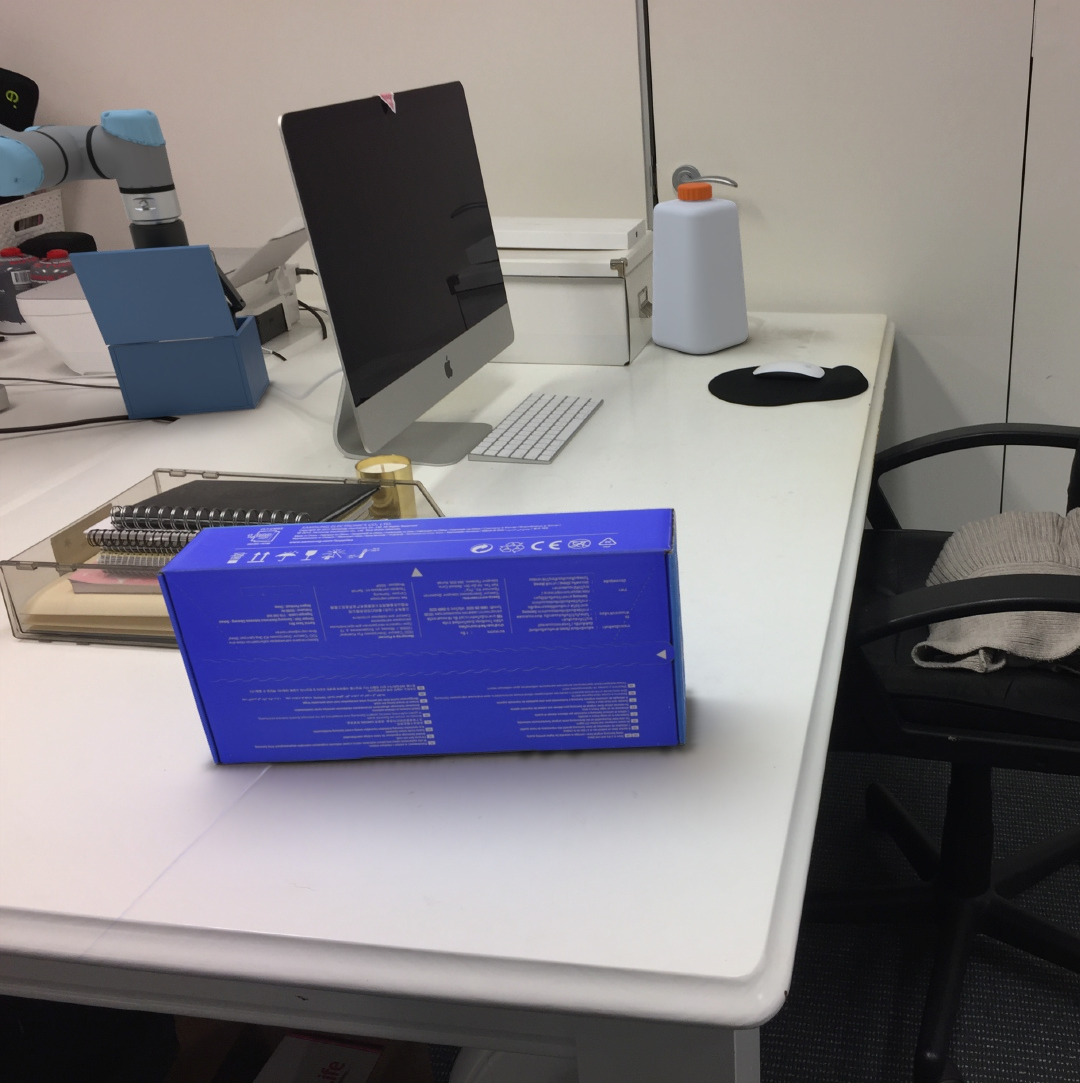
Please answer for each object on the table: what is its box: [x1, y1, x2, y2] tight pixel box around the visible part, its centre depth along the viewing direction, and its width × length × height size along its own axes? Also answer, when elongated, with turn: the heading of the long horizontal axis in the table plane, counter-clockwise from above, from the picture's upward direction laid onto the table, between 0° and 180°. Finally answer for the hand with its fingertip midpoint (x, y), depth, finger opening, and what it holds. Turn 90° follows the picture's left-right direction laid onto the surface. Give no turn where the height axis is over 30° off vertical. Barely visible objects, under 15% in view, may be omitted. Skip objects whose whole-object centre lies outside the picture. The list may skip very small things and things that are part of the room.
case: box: [107, 315, 271, 420], centre depth 167 cm, size 14×19×12 cm
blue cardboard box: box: [156, 507, 687, 765], centre depth 85 cm, size 39×8×18 cm, turn 91°
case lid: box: [68, 244, 237, 346], centre depth 153 cm, size 14×19×1 cm
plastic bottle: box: [651, 182, 749, 355], centre depth 186 cm, size 15×15×28 cm
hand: (190, 358), depth 166 cm, fingers open, 12 cm apart
